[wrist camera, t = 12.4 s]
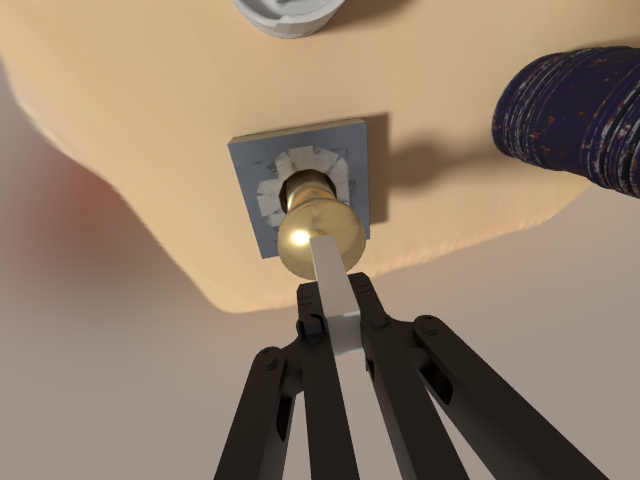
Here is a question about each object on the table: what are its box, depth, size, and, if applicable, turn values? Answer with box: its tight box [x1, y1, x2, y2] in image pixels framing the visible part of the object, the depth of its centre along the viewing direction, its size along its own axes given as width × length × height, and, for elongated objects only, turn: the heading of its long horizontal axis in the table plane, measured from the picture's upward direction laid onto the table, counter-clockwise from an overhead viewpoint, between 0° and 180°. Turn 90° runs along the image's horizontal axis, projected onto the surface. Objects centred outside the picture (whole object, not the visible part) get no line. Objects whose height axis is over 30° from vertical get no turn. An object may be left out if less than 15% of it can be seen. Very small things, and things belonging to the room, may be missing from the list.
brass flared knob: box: [278, 169, 366, 280], centre depth 23 cm, size 6×6×12 cm
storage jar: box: [492, 46, 640, 199], centre depth 21 cm, size 10×10×15 cm
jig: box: [227, 118, 370, 259], centre depth 26 cm, size 12×12×3 cm
